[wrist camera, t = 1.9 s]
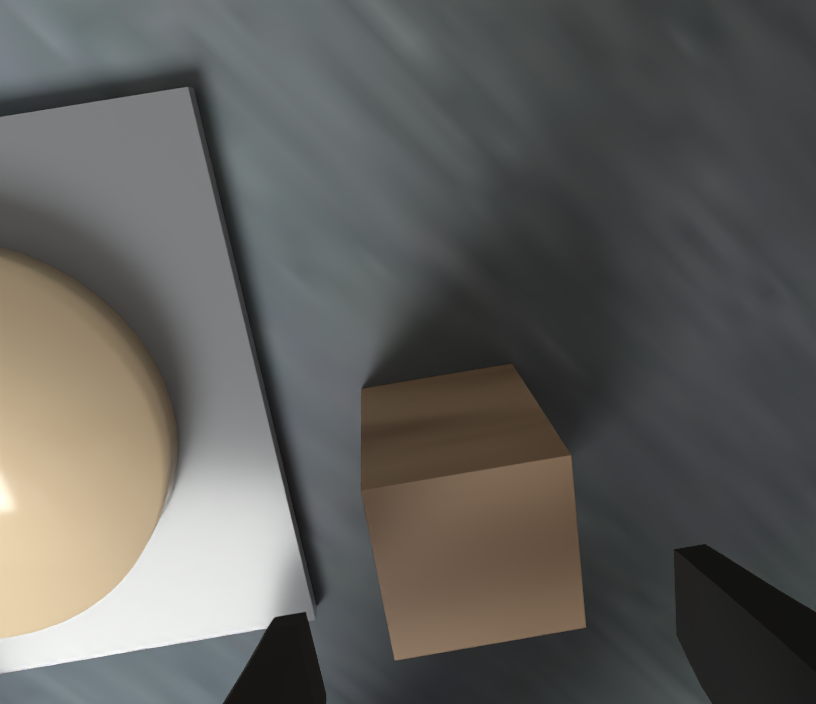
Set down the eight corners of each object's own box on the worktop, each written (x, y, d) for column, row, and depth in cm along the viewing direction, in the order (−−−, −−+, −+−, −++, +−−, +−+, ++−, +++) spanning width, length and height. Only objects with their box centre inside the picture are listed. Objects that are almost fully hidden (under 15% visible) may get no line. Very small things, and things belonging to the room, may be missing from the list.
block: (526, 496, 21) (586, 627, 16) (386, 519, 21) (394, 660, 16) (511, 363, 20) (571, 454, 14) (361, 388, 20) (360, 490, 14)
